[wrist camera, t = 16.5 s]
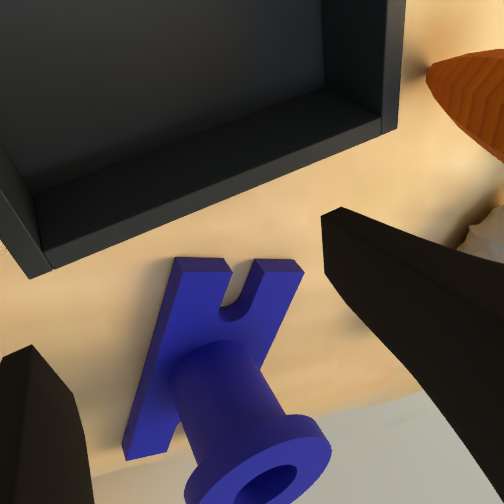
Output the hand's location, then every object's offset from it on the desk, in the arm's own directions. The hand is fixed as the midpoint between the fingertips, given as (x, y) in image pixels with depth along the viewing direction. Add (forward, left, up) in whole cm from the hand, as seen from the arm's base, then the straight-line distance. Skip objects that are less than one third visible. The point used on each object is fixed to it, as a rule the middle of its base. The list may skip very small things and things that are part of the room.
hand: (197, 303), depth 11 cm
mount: (0, -15, -10) cm, 18 cm away
